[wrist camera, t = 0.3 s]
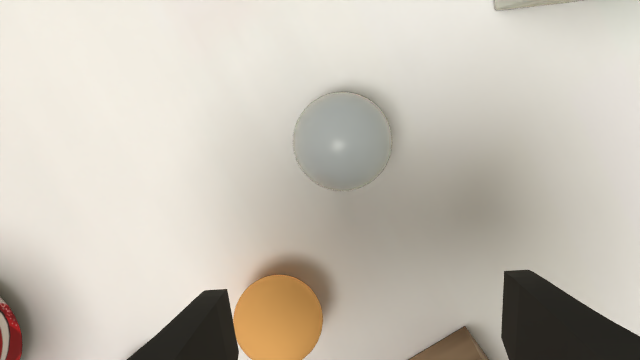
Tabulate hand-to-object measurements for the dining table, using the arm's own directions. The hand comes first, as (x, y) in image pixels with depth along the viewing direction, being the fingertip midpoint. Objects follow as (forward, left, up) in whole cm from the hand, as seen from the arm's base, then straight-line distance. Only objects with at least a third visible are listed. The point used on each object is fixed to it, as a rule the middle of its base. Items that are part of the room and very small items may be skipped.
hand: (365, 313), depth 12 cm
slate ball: (+1, +3, -8) cm, 9 cm away
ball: (-6, -2, -8) cm, 10 cm away
